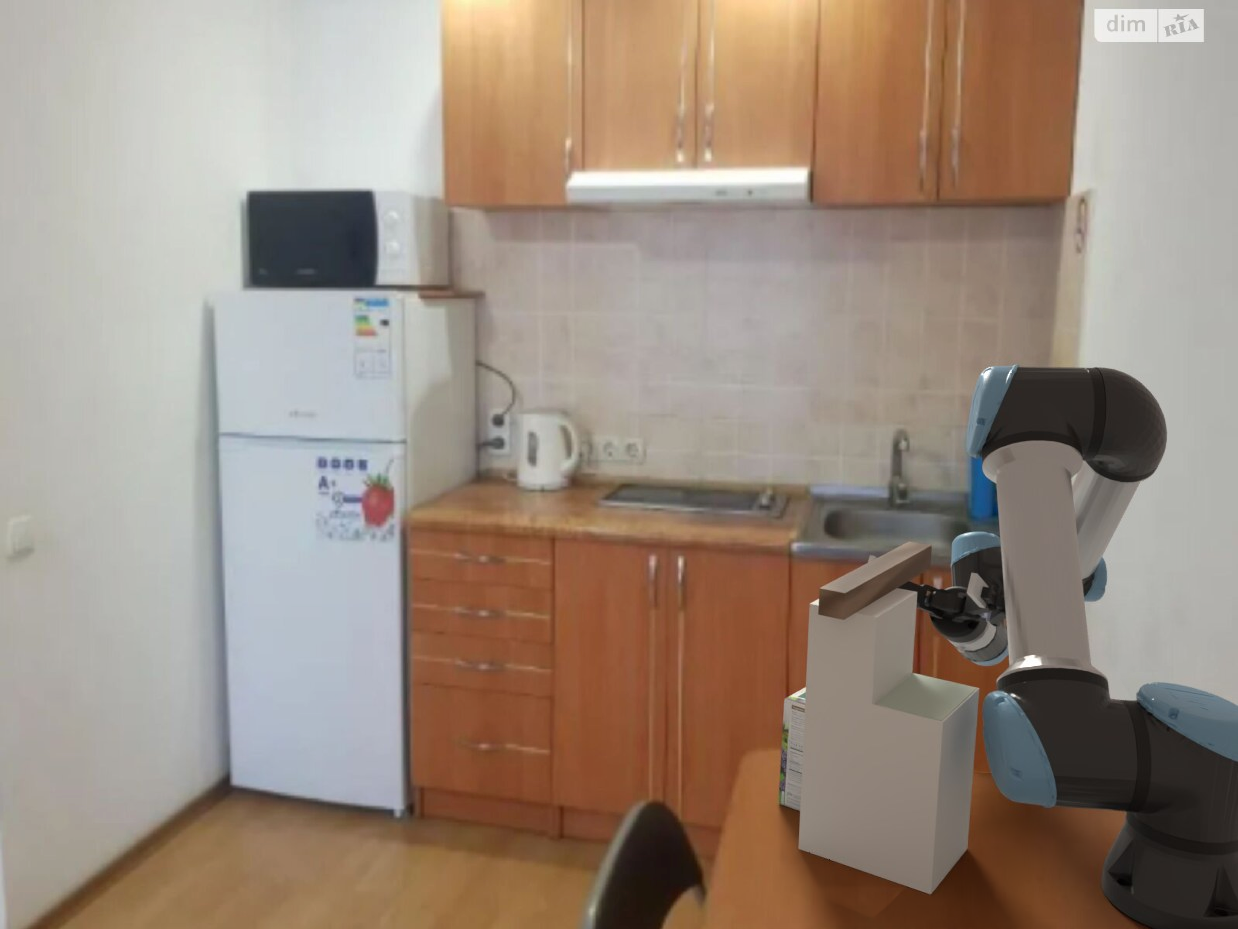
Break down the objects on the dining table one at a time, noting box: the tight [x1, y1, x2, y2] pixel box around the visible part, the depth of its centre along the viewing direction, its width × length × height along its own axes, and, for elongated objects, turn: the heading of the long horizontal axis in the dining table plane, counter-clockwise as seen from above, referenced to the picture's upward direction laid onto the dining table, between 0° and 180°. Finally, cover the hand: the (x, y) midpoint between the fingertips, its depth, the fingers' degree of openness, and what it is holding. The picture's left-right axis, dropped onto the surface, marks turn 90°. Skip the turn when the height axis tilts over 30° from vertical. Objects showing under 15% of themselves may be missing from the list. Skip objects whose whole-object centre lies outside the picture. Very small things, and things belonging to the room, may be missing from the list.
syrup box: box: [778, 686, 806, 812], centre depth 141 cm, size 6×6×14 cm
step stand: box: [798, 588, 980, 895], centre depth 129 cm, size 16×12×30 cm
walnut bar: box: [818, 541, 933, 620], centre depth 131 cm, size 3×26×3 cm, turn 144°
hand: (919, 573), depth 143 cm, fingers open, 13 cm apart
